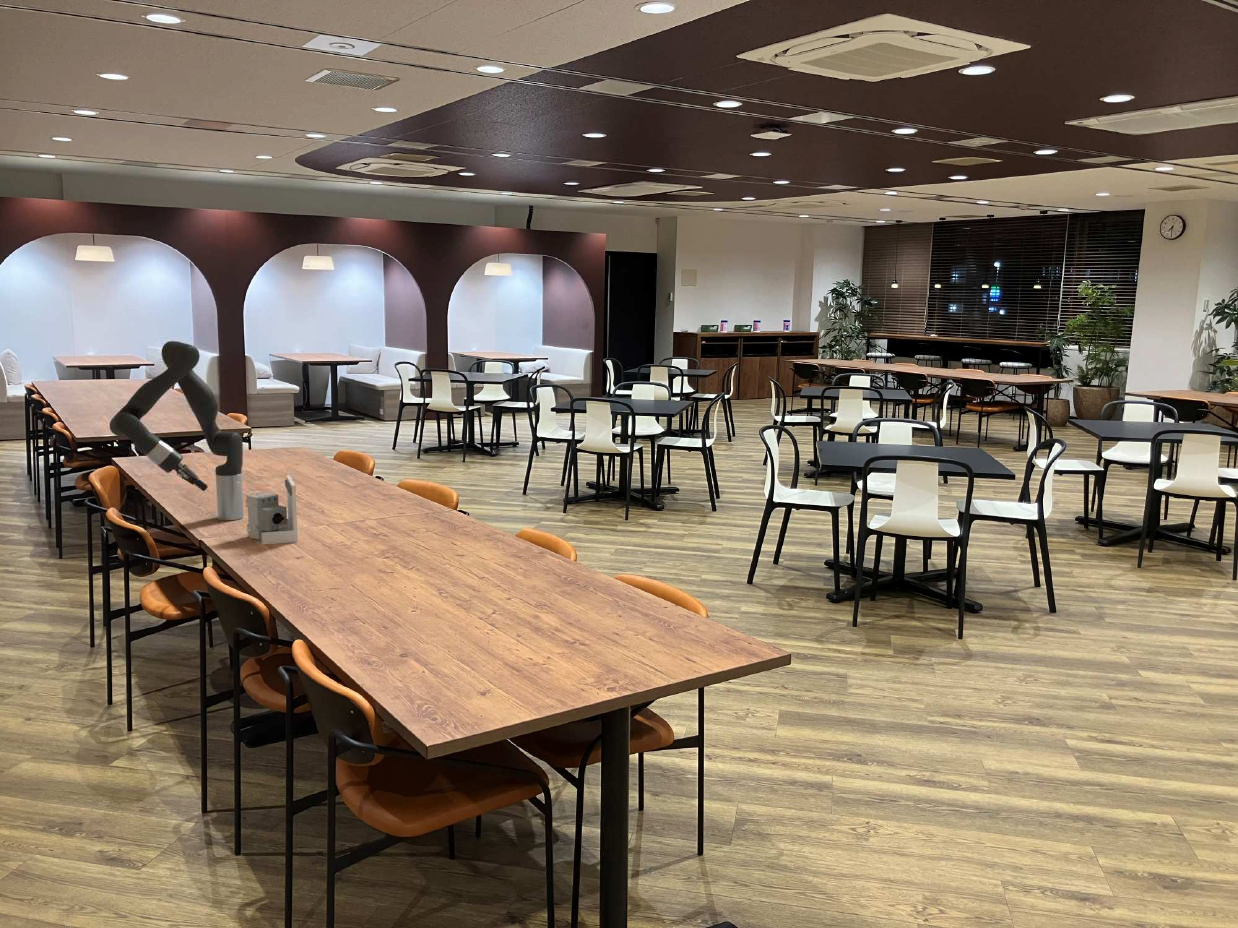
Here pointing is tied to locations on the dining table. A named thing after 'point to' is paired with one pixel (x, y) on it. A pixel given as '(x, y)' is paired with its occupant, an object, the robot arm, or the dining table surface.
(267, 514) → the circuit breaker
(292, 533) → the panel bay
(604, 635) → the dining table surface
